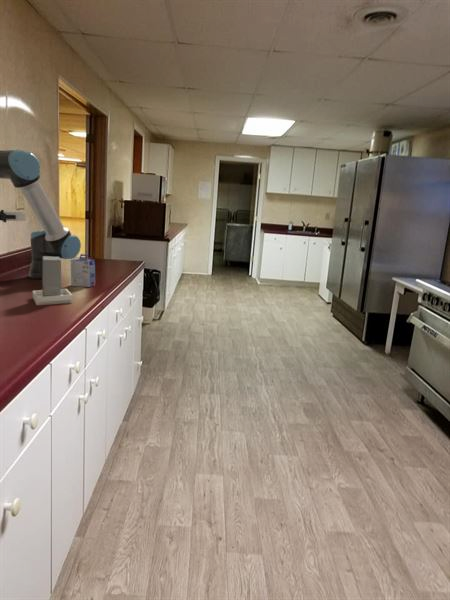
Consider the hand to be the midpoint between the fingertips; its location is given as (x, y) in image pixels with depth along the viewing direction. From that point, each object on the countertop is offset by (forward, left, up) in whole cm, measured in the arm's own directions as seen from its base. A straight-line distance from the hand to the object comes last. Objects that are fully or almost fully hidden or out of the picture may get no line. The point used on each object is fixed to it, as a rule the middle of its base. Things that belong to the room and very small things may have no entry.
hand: (24, 216), depth 166 cm
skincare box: (+10, +8, -31) cm, 34 cm away
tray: (+10, +8, -32) cm, 34 cm away
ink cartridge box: (-16, +25, -32) cm, 44 cm away
